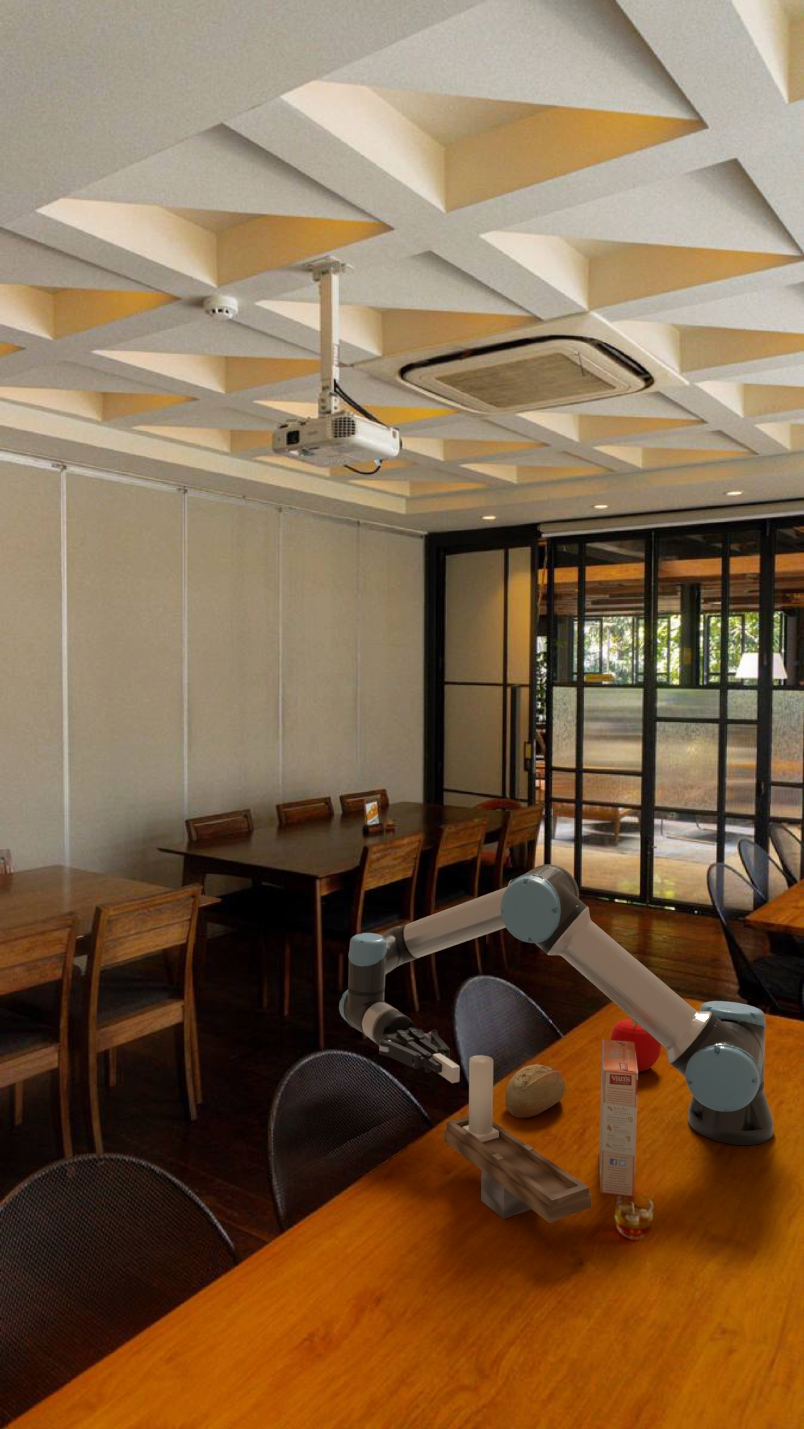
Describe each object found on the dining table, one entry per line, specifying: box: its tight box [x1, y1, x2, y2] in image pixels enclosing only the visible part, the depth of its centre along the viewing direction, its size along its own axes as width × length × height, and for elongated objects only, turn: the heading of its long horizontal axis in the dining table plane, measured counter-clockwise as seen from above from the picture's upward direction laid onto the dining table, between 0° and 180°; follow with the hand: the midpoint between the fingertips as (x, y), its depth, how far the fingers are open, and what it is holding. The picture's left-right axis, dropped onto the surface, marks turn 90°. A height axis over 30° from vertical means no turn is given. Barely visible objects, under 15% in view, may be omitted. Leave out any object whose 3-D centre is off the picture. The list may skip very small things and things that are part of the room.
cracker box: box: [598, 1039, 639, 1198], centre depth 160 cm, size 14×6×21 cm, turn 168°
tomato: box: [610, 1018, 662, 1073], centre depth 204 cm, size 10×11×11 cm
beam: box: [443, 1115, 592, 1224], centre depth 151 cm, size 28×8×8 cm, turn 31°
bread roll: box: [504, 1063, 566, 1119], centre depth 185 cm, size 10×15×8 cm, turn 138°
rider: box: [462, 1054, 499, 1142], centre depth 159 cm, size 4×4×13 cm
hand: (455, 1074), depth 165 cm, fingers closed
